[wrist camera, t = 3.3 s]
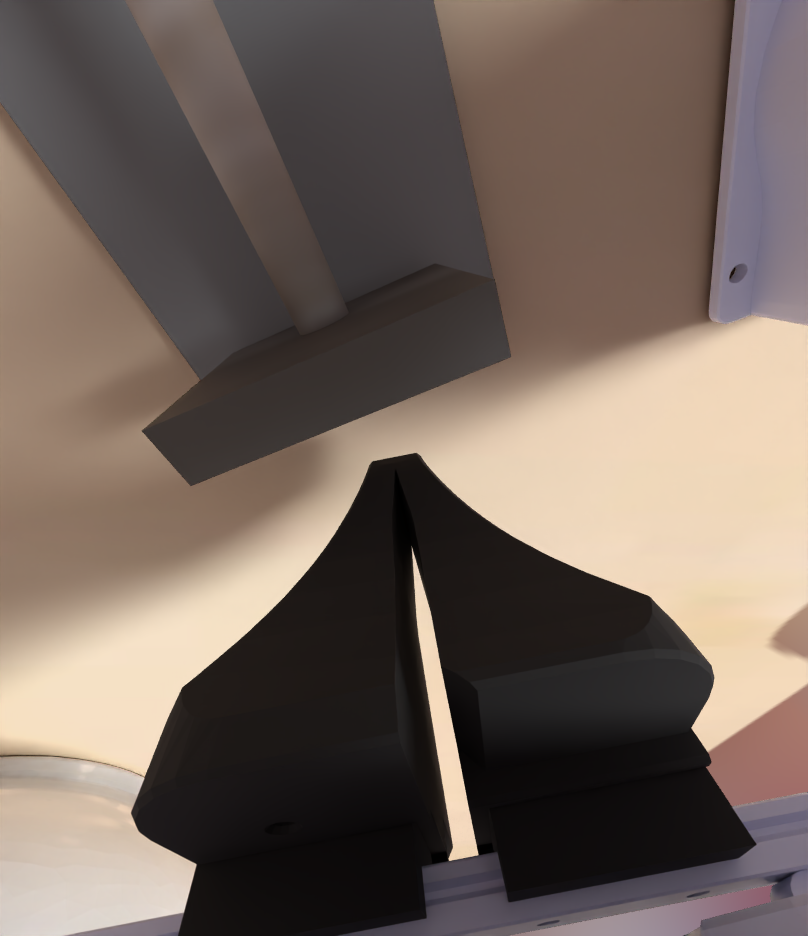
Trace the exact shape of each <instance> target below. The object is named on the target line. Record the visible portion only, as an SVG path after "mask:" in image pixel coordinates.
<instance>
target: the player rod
mask: <svg viewBox="0 0 808 936" xmlns="http://www.w3.org/2000/svg"><path fill="white" fill-rule="evenodd" d="M125 2H126V4H127V5H128V7H129V9H130V11H131V13H132V15H133V17H134V19H135V21H136V23H137V25H138V26H139V28H140V30H141V32H142V34H143V36H144V38H145V40H146V42H147V44H148V46H149V47H150V49H151V51H152V53H153V55H154V57H155V59H156V61H157V63H158V65H159V67H160V68H161V70H162V72H163V74H164V76H165V78H166V80H167V82H168V84H169V86H170V88H171V89H172V91H173V93H174V95H175V97H176V99H177V101H178V103H179V105H180V107H181V109H182V110H183V112H184V114H185V116H186V118H187V120H188V122H189V124H190V126H191V128H192V130H193V131H194V133H195V135H196V137H197V139H198V141H199V143H200V145H201V147H202V149H203V150H204V152H205V154H206V156H207V158H208V160H209V162H210V164H211V166H212V168H213V170H214V171H215V173H216V175H217V177H218V179H219V181H220V183H221V185H222V187H223V189H224V191H225V192H226V194H227V196H228V198H229V200H230V202H231V204H232V206H233V208H234V210H235V212H236V213H237V215H238V217H239V219H240V221H241V223H242V225H243V227H244V229H245V231H246V233H247V234H248V236H249V238H250V240H251V242H252V244H253V246H254V248H255V250H256V252H257V254H258V255H259V257H260V259H261V261H262V263H263V265H264V267H265V269H266V271H267V273H268V275H269V276H270V278H271V280H272V282H273V284H274V286H275V288H276V290H277V292H278V294H279V295H280V297H281V299H282V301H283V303H284V305H285V307H286V309H287V311H288V313H289V315H290V316H291V318H292V320H293V322H294V324H295V325H294V326H292V327H290V328H288V329H285V330H283V331H281V332H279V333H276V334H274V335H272V336H270V337H267V338H265V339H263V340H261V341H258V342H256V343H254V344H252V345H249V346H247V347H245V348H243V349H240V350H238V351H236V352H233V353H232V354H231V355H230V356H229V357H228V358H226V359H225V360H224V361H223V362H222V363H221V364H219V365H218V366H217V367H216V368H215V369H214V370H212V371H211V372H210V373H209V374H208V375H207V376H205V377H204V378H203V379H202V380H201V381H199V382H198V383H197V384H196V385H195V386H194V387H192V388H191V389H190V390H189V391H188V392H187V393H185V394H184V395H183V396H182V397H181V398H180V399H178V400H177V401H176V402H175V403H174V404H173V405H171V406H170V407H169V408H168V409H167V410H166V411H164V412H163V413H162V414H161V415H160V416H159V417H157V418H156V419H155V420H154V421H153V422H152V423H150V424H149V425H148V426H147V427H146V428H144V429H143V430H142V432H143V433H144V434H145V435H146V436H147V437H148V439H149V440H150V441H151V442H152V443H153V444H154V445H155V446H156V448H157V449H158V450H159V451H160V452H161V453H162V454H163V455H164V457H165V458H166V459H167V460H168V461H169V462H170V463H171V464H172V466H173V467H174V468H175V469H176V470H177V471H178V472H179V473H180V475H181V476H182V477H183V478H184V479H185V480H186V481H187V482H188V484H189V485H190V486H192V485H195V484H197V483H200V482H202V481H205V480H207V479H210V478H212V477H215V476H217V475H219V474H222V473H224V472H227V471H229V470H232V469H234V468H237V467H239V466H242V465H244V464H247V463H249V462H252V461H254V460H257V459H259V458H262V457H264V456H267V455H269V454H272V453H274V452H277V451H279V450H282V449H284V448H286V447H289V446H291V445H294V444H296V443H299V442H301V441H304V440H306V439H309V438H311V437H314V436H316V435H319V434H321V433H324V432H326V431H329V430H331V429H334V428H336V427H339V426H341V425H344V424H346V423H348V422H351V421H353V420H356V419H358V418H361V417H363V416H366V415H368V414H371V413H373V412H376V411H378V410H381V409H383V408H386V407H388V406H391V405H393V404H396V403H398V402H401V401H403V400H406V399H408V398H411V397H413V396H415V395H418V394H420V393H423V392H425V391H428V390H430V389H433V388H435V387H438V386H440V385H443V384H445V383H448V382H450V381H453V380H455V379H458V378H460V377H463V376H465V375H468V374H470V373H473V372H475V371H478V370H480V369H482V368H485V367H487V366H490V365H492V364H495V363H497V362H500V361H502V360H505V359H507V358H510V357H511V354H510V349H509V345H508V340H507V335H506V331H505V326H504V321H503V317H502V312H501V307H500V303H499V298H498V293H497V289H496V284H495V279H491V278H488V277H484V276H480V275H476V274H473V273H469V272H465V271H462V270H458V269H454V268H450V267H447V266H443V265H439V264H435V263H434V264H432V265H430V266H428V267H425V268H423V269H421V270H419V271H416V272H414V273H412V274H410V275H407V276H405V277H403V278H401V279H398V280H396V281H394V282H391V283H389V284H387V285H385V286H382V287H380V288H378V289H376V290H373V291H371V292H369V293H367V294H364V295H362V296H360V297H358V298H355V299H353V300H351V301H349V302H346V303H345V302H344V300H343V298H342V295H341V293H340V291H339V289H338V286H337V284H336V282H335V279H334V277H333V275H332V272H331V270H330V268H329V266H328V263H327V261H326V259H325V256H324V254H323V252H322V250H321V247H320V245H319V243H318V240H317V238H316V236H315V234H314V231H313V229H312V227H311V224H310V222H309V220H308V217H307V215H306V213H305V211H304V208H303V206H302V204H301V201H300V199H299V197H298V195H297V192H296V190H295V188H294V185H293V183H292V181H291V179H290V176H289V174H288V172H287V169H286V167H285V165H284V162H283V160H282V158H281V156H280V153H279V151H278V149H277V146H276V144H275V142H274V140H273V137H272V135H271V133H270V130H269V128H268V126H267V124H266V121H265V119H264V117H263V114H262V112H261V110H260V107H259V105H258V103H257V101H256V98H255V96H254V94H253V91H252V89H251V87H250V85H249V82H248V80H247V78H246V75H245V73H244V71H243V69H242V66H241V64H240V62H239V59H238V57H237V55H236V52H235V50H234V48H233V46H232V43H231V41H230V39H229V36H228V34H227V32H226V30H225V27H224V25H223V23H222V20H221V18H220V16H219V14H218V11H217V9H216V7H215V4H214V2H213V0H125Z"/></svg>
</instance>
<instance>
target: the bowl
mask: <svg viewBox="0 0 808 936" xmlns="http://www.w3.org/2000/svg"><path fill="white" fill-rule="evenodd" d="M143 780H144V777H142V776H140V775H138V774H135V773H133V772H131V771H128V770H125V769H122V768H119V767H116V766H112V765H107V764H103V763H99V762H93V761H87V760H81V759H72V758H63V757H54V756H10V757H0V936H64V935H69V934H74V933H80V932H85V931H90V930H95V929H100V928H105V927H111V926H116V925H121V924H126V923H131V922H137V921H142V920H147V919H152V918H157V917H162V916H168V915H173V914H178V913H183V912H184V910H185V906H186V903H187V899H188V895H189V891H190V887H191V884H192V880H193V876H194V872H195V869H196V865H197V864H195V863H193V862H191V861H189V860H187V859H185V858H183V857H181V856H179V855H178V854H176V853H174V852H172V851H170V850H168V849H166V848H164V847H162V846H160V845H158V844H156V843H154V842H152V841H150V840H149V839H148V838H146V837H145V836H144V835H142V834H141V833H140V832H139V831H138V829H137V827H136V825H135V822H134V820H133V818H132V815H131V811H132V808H133V806H134V803H135V801H136V798H137V796H138V793H139V791H140V788H141V786H142V783H143Z"/></svg>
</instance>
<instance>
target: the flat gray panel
mask: <svg viewBox="0 0 808 936" xmlns="http://www.w3.org/2000/svg"><path fill="white" fill-rule="evenodd" d="M213 2H214V4H215V7H216V9H217V11H218V14H219V16H220V18H221V20H222V23H223V25H224V27H225V30H226V32H227V34H228V36H229V39H230V41H231V43H232V46H233V48H234V50H235V52H236V55H237V57H238V59H239V62H240V64H241V66H242V69H243V71H244V73H245V75H246V78H247V80H248V82H249V85H250V87H251V89H252V91H253V94H254V96H255V98H256V101H257V103H258V105H259V107H260V110H261V112H262V114H263V117H264V119H265V121H266V124H267V126H268V128H269V130H270V133H271V135H272V137H273V140H274V142H275V144H276V146H277V149H278V151H279V153H280V156H281V158H282V160H283V162H284V165H285V167H286V169H287V172H288V174H289V176H290V179H291V181H292V183H293V185H294V188H295V190H296V192H297V195H298V197H299V199H300V201H301V204H302V206H303V208H304V211H305V213H306V215H307V217H308V220H309V222H310V224H311V227H312V229H313V231H314V234H315V236H316V238H317V240H318V243H319V245H320V247H321V250H322V252H323V254H324V256H325V259H326V261H327V263H328V266H329V268H330V270H331V272H332V275H333V277H334V279H335V282H336V284H337V286H338V289H339V291H340V293H341V295H342V298H343V300H344V302H345V303H346V302H349V301H351V300H353V299H355V298H358V297H360V296H362V295H364V294H367V293H369V292H371V291H373V290H376V289H378V288H380V287H382V286H385V285H387V284H389V283H391V282H394V281H396V280H398V279H401V278H403V277H405V276H407V275H410V274H412V273H414V272H416V271H419V270H421V269H423V268H425V267H428V266H430V265H432V264H434V263H435V264H439V265H443V266H447V267H450V268H454V269H458V270H462V271H465V272H469V273H473V274H476V275H480V276H484V277H488V278H491V279H493V274H492V269H491V265H490V260H489V256H488V251H487V246H486V242H485V237H484V232H483V228H482V223H481V219H480V214H479V209H478V205H477V200H476V195H475V191H474V186H473V182H472V177H471V172H470V168H469V163H468V158H467V154H466V149H465V145H464V140H463V135H462V131H461V126H460V122H459V117H458V112H457V108H456V103H455V98H454V94H453V89H452V85H451V80H450V75H449V71H448V66H447V61H446V57H445V52H444V48H443V43H442V38H441V34H440V29H439V24H438V20H437V15H436V11H435V6H434V1H433V0H213ZM0 103H1V104H2V106H3V107H4V108H5V110H6V111H7V113H8V114H9V115H10V117H11V118H12V119H13V121H14V122H15V124H16V125H17V126H18V128H19V129H20V131H21V132H22V133H23V135H24V136H25V137H26V139H27V140H28V142H29V143H30V144H31V146H32V147H33V149H34V150H35V151H36V153H37V154H38V156H39V157H40V158H41V160H42V161H43V162H44V164H45V165H46V167H47V168H48V169H49V171H50V172H51V174H52V175H53V176H54V178H55V179H56V180H57V182H58V183H59V185H60V186H61V187H62V189H63V190H64V192H65V193H66V194H67V196H68V197H69V198H70V200H71V201H72V203H73V204H74V205H75V207H76V208H77V210H78V211H79V212H80V214H81V215H82V216H83V218H84V219H85V221H86V222H87V223H88V225H89V226H90V228H91V229H92V230H93V232H94V233H95V234H96V236H97V237H98V239H99V240H100V241H101V243H102V244H103V246H104V247H105V248H106V250H107V251H108V252H109V254H110V255H111V257H112V258H113V259H114V261H115V262H116V264H117V265H118V266H119V268H120V269H121V270H122V272H123V273H124V275H125V276H126V277H127V279H128V280H129V282H130V283H131V284H132V286H133V287H134V288H135V290H136V291H137V293H138V294H139V295H140V297H141V298H142V300H143V301H144V302H145V304H146V305H147V306H148V308H149V309H150V311H151V312H152V313H153V315H154V316H155V318H156V319H157V320H158V322H159V323H160V324H161V326H162V327H163V329H164V330H165V331H166V333H167V334H168V336H169V337H170V338H171V340H172V341H173V342H174V344H175V345H176V347H177V348H178V349H179V351H180V352H181V354H182V355H183V356H184V358H185V359H186V360H187V362H188V363H189V365H190V366H191V367H192V369H193V370H194V372H195V373H196V374H197V376H198V377H199V378H200V380H202V379H203V378H204V377H205V376H207V375H208V374H209V373H210V372H211V371H212V370H214V369H215V368H216V367H217V366H218V365H219V364H221V363H222V362H223V361H224V360H225V359H226V358H228V357H229V356H230V355H231V354H232V353H233V352H236V351H238V350H240V349H243V348H245V347H247V346H249V345H252V344H254V343H256V342H258V341H261V340H263V339H265V338H267V337H270V336H272V335H274V334H276V333H279V332H281V331H283V330H285V329H288V328H290V327H292V326H294V325H295V324H294V322H293V320H292V318H291V316H290V315H289V313H288V311H287V309H286V307H285V305H284V303H283V301H282V299H281V297H280V295H279V294H278V292H277V290H276V288H275V286H274V284H273V282H272V280H271V278H270V276H269V275H268V273H267V271H266V269H265V267H264V265H263V263H262V261H261V259H260V257H259V255H258V254H257V252H256V250H255V248H254V246H253V244H252V242H251V240H250V238H249V236H248V234H247V233H246V231H245V229H244V227H243V225H242V223H241V221H240V219H239V217H238V215H237V213H236V212H235V210H234V208H233V206H232V204H231V202H230V200H229V198H228V196H227V194H226V192H225V191H224V189H223V187H222V185H221V183H220V181H219V179H218V177H217V175H216V173H215V171H214V170H213V168H212V166H211V164H210V162H209V160H208V158H207V156H206V154H205V152H204V150H203V149H202V147H201V145H200V143H199V141H198V139H197V137H196V135H195V133H194V131H193V130H192V128H191V126H190V124H189V122H188V120H187V118H186V116H185V114H184V112H183V110H182V109H181V107H180V105H179V103H178V101H177V99H176V97H175V95H174V93H173V91H172V89H171V88H170V86H169V84H168V82H167V80H166V78H165V76H164V74H163V72H162V70H161V68H160V67H159V65H158V63H157V61H156V59H155V57H154V55H153V53H152V51H151V49H150V47H149V46H148V44H147V42H146V40H145V38H144V36H143V34H142V32H141V30H140V28H139V26H138V25H137V23H136V21H135V19H134V17H133V15H132V13H131V11H130V9H129V7H128V5H127V4H126V2H125V0H0Z"/></svg>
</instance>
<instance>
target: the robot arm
mask: <svg viewBox="0 0 808 936" xmlns="http://www.w3.org/2000/svg"><path fill="white" fill-rule="evenodd" d="M734 267H736V270H735V273H734V275H733V276H732V277H731V279H729V276H730V273H731V271H732V270H733V268H734ZM750 315H753V316H759V317H764V318H770V319H775V320H781V321H786V322H792V323H797V324H803V325H808V0H735V9H734V20H733V32H732V44H731V56H730V68H729V79H728V91H727V103H726V115H725V126H724V138H723V150H722V162H721V173H720V185H719V197H718V209H717V220H716V232H715V244H714V256H713V267H712V279H711V291H710V303H709V318H710V319H711V320H712V321H714V322H718V323H722V324H728V323H732V322H734V321H737V320H740V319H742V318H745V317H747V316H750ZM412 548H413V552H414V555H415V559H416V562H417V566H418V569H419V573H420V576H421V580H422V583H423V587H424V590H425V594H426V597H427V600H428V604H429V607H430V611H431V615H432V620H433V626H434V631H435V637H436V642H437V647H438V653H439V658H440V664H441V669H442V674H443V679H444V684H445V689H446V694H447V699H448V704H449V708H450V713H451V718H452V723H453V728H454V733H455V738H456V743H457V748H458V753H459V759H460V764H461V769H462V774H463V779H464V785H465V790H466V795H467V800H468V806H469V811H470V815H471V820H472V825H473V829H474V834H475V839H476V844H477V849H478V854H479V855H478V856H473V857H468V858H463V859H458V860H452V861H449V859H448V858H449V856H450V853H451V851H452V848H453V844H452V838H451V832H450V827H449V821H448V815H447V809H446V803H445V797H444V791H443V785H442V779H441V773H440V767H439V761H438V755H437V749H436V743H435V736H434V730H433V724H432V718H431V712H430V706H429V700H428V693H427V687H426V681H425V675H424V668H423V662H422V656H421V649H420V643H419V637H418V628H417V619H416V605H415V589H414V574H413V559H412ZM713 683H714V674H713V670H712V666H711V664H710V663H709V662H708V661H707V660H706V658H705V657H704V656H703V655H702V654H701V652H700V651H699V650H698V649H697V648H696V646H695V645H694V644H693V643H692V642H691V640H690V639H689V638H688V637H687V635H686V634H685V633H684V632H683V631H682V630H681V629H680V628H679V626H678V625H677V624H676V623H675V622H674V621H673V620H672V619H671V618H670V617H669V616H668V615H667V614H666V613H665V612H664V611H663V610H662V609H661V608H660V607H659V606H658V605H657V604H656V603H655V602H654V601H653V600H652V598H651V597H649V596H647V595H645V594H642V593H639V592H637V591H634V590H631V589H629V588H626V587H623V586H620V585H618V584H615V583H612V582H610V581H607V580H604V579H602V578H599V577H596V576H594V575H591V574H588V573H586V572H584V571H581V570H579V569H577V568H575V567H572V566H570V565H568V564H566V563H563V562H561V561H559V560H557V559H554V558H552V557H550V556H548V555H546V554H544V553H542V552H540V551H538V550H537V549H535V548H533V547H531V546H529V545H527V544H525V543H524V542H522V541H520V540H518V539H516V538H514V537H513V536H511V535H509V534H508V533H506V532H505V531H503V530H501V529H500V528H498V527H497V526H495V525H494V524H492V523H491V522H489V521H488V520H486V519H485V518H484V517H482V516H481V515H480V514H478V513H477V512H476V511H474V510H473V509H472V508H471V507H469V506H468V505H467V504H466V503H465V502H463V501H462V500H461V499H460V498H459V497H457V496H456V495H455V494H454V493H453V492H452V491H451V490H450V489H449V488H448V487H447V486H446V485H445V484H444V483H443V482H442V481H441V480H440V479H439V478H438V477H437V476H436V475H435V474H434V473H433V472H432V471H431V469H430V468H429V467H428V466H427V465H426V463H425V462H424V461H423V459H422V458H421V456H420V455H418V454H417V453H413V454H408V455H403V456H398V457H393V458H387V459H382V460H377V461H372V463H371V464H370V465H369V468H368V471H367V473H366V476H365V478H364V481H363V483H362V485H361V487H360V490H359V492H358V494H357V496H356V498H355V500H354V502H353V504H352V506H351V508H350V509H349V511H348V513H347V515H346V516H345V518H344V520H343V521H342V523H341V525H340V526H339V528H338V530H337V531H336V533H335V534H334V536H333V537H332V539H331V540H330V542H329V543H328V545H327V546H326V548H325V549H324V550H323V552H322V553H321V554H320V556H319V557H318V558H317V560H316V561H315V562H314V564H313V565H312V566H311V567H310V568H309V570H308V571H307V572H306V573H305V574H304V576H303V577H302V578H301V579H300V580H299V581H298V582H297V583H296V585H295V586H294V587H293V588H292V589H291V590H290V591H289V593H288V594H287V595H286V596H285V597H284V598H283V599H282V600H281V601H280V602H279V603H278V604H277V605H276V606H275V607H274V608H273V609H272V610H271V611H270V612H269V613H268V614H267V615H266V616H265V617H264V618H263V619H262V620H261V621H259V622H258V623H257V624H256V625H255V626H254V627H253V628H252V629H251V630H250V631H249V632H248V633H247V634H246V635H244V636H243V637H242V638H241V639H240V640H239V641H238V642H237V643H235V644H234V645H233V646H232V647H231V648H229V649H228V650H227V651H226V652H225V653H224V654H222V655H221V656H220V657H219V658H218V659H216V660H215V661H214V662H213V663H212V664H210V665H209V666H208V667H207V668H206V669H204V670H203V671H202V672H201V673H200V674H199V675H197V676H196V677H195V678H194V679H192V680H191V681H190V682H189V683H187V684H186V685H185V686H184V687H182V689H181V692H180V694H179V696H178V698H177V700H176V702H175V704H174V707H173V709H172V711H171V713H170V715H169V717H168V719H167V722H166V724H165V727H164V729H163V732H162V735H161V737H160V740H159V742H158V745H157V747H156V750H155V752H154V755H153V758H152V760H151V763H150V765H149V768H148V770H147V773H146V775H145V778H144V780H143V783H142V786H141V788H140V791H139V793H138V796H137V798H136V801H135V803H134V806H133V808H132V811H131V815H132V818H133V820H134V822H135V825H136V827H137V829H138V831H139V832H140V833H141V834H142V835H144V836H145V837H146V838H148V839H149V840H150V841H152V842H154V843H156V844H158V845H160V846H162V847H164V848H166V849H168V850H170V851H172V852H174V853H176V854H178V855H179V856H181V857H183V858H185V859H187V860H189V861H191V862H193V863H195V864H197V865H196V869H195V872H194V876H193V880H192V884H191V887H190V891H189V895H188V899H187V903H186V906H185V910H184V912H183V913H178V914H173V915H168V916H162V917H157V918H152V919H147V920H142V921H137V922H131V923H126V924H121V925H116V926H111V927H105V928H100V929H95V930H90V931H85V932H80V933H74V934H69V935H64V936H509V935H514V934H519V933H525V932H530V931H535V930H540V929H545V928H551V927H556V926H561V925H566V924H571V923H577V922H582V921H587V920H591V919H597V918H602V917H608V916H613V915H618V914H623V913H628V912H634V911H638V910H643V909H649V908H654V907H659V906H664V905H670V904H675V903H680V902H686V901H691V900H696V899H701V898H706V897H712V896H717V895H722V894H727V893H732V892H737V891H743V890H748V889H753V888H758V887H763V886H769V885H773V886H772V889H771V893H770V899H771V902H769V903H766V904H762V905H758V906H754V907H751V908H747V909H743V910H739V911H735V912H731V913H728V914H724V915H720V916H716V917H712V918H709V919H705V920H702V921H701V925H700V927H699V928H697V929H696V930H694V931H692V932H690V933H689V934H687V935H684V936H808V792H805V793H799V794H795V795H789V796H784V797H779V798H774V799H769V800H764V801H758V802H753V803H748V804H743V805H738V806H731V805H730V803H729V802H728V800H727V799H726V797H725V795H724V794H723V792H722V791H721V789H720V788H719V786H718V785H717V783H716V782H715V780H714V779H713V777H712V776H711V774H710V773H709V771H708V770H707V768H706V767H707V766H709V765H710V764H711V759H710V756H709V754H708V752H707V751H706V749H705V748H704V746H703V745H702V743H701V742H700V740H699V739H698V737H697V736H696V734H695V733H694V732H693V730H692V729H691V727H692V725H693V724H694V722H695V720H696V719H697V717H698V715H699V714H700V712H701V710H702V709H703V707H704V705H705V703H706V702H707V700H708V698H709V696H710V693H711V690H712V687H713ZM774 884H775V885H774Z"/></svg>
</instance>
